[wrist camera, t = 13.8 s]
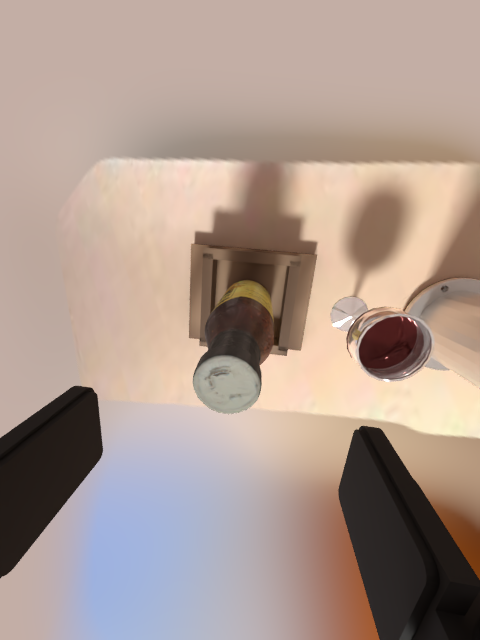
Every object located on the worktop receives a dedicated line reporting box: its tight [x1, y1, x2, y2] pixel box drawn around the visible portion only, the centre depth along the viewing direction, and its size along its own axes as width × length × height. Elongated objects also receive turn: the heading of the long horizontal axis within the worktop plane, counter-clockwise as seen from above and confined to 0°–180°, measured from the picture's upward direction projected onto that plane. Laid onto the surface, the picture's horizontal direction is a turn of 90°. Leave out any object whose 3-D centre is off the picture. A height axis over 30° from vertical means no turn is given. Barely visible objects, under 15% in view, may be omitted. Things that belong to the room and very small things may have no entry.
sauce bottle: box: [193, 279, 274, 414], centre depth 23 cm, size 7×6×20 cm
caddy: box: [189, 244, 317, 356], centre depth 32 cm, size 16×13×4 cm
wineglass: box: [331, 297, 434, 382], centre depth 28 cm, size 7×7×12 cm
